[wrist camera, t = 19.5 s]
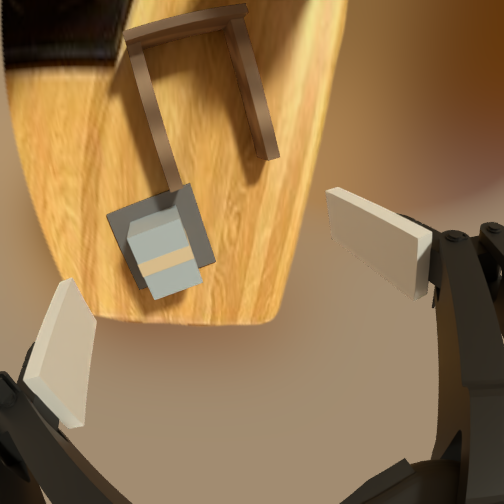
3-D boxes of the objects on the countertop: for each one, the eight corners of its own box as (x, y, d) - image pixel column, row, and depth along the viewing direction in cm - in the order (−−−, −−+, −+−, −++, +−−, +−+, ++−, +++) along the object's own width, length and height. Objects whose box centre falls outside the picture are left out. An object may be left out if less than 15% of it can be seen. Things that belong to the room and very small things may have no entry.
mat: (106, 214, 36) (106, 215, 35) (189, 183, 37) (190, 183, 37) (139, 288, 41) (139, 289, 40) (215, 260, 42) (216, 261, 42)
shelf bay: (127, 45, 29) (122, 31, 23) (232, 19, 31) (245, 3, 25) (169, 186, 37) (171, 196, 32) (268, 153, 39) (287, 159, 34)
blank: (130, 222, 37) (126, 239, 31) (176, 204, 38) (180, 218, 32) (153, 276, 40) (154, 300, 35) (196, 261, 41) (203, 282, 36)
